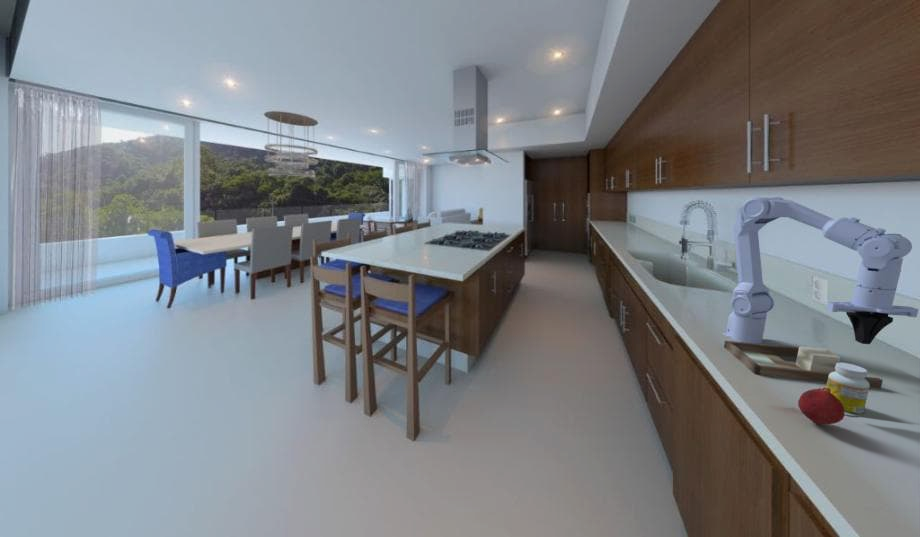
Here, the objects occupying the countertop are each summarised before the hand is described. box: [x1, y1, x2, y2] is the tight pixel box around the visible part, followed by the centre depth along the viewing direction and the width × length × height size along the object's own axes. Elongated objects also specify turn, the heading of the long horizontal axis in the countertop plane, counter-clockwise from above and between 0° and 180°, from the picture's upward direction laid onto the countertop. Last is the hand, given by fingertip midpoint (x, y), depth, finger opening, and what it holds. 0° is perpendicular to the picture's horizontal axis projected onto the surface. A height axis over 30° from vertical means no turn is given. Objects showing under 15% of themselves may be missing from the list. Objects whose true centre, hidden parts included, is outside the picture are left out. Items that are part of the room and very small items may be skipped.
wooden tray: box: [723, 340, 883, 389], centre depth 82 cm, size 16×23×3 cm
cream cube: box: [796, 346, 841, 373], centre depth 79 cm, size 5×5×5 cm
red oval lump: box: [797, 386, 845, 426], centre depth 61 cm, size 6×6×8 cm
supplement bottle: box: [825, 362, 871, 418], centre depth 65 cm, size 5×5×10 cm
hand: (862, 342), depth 76 cm, fingers closed
